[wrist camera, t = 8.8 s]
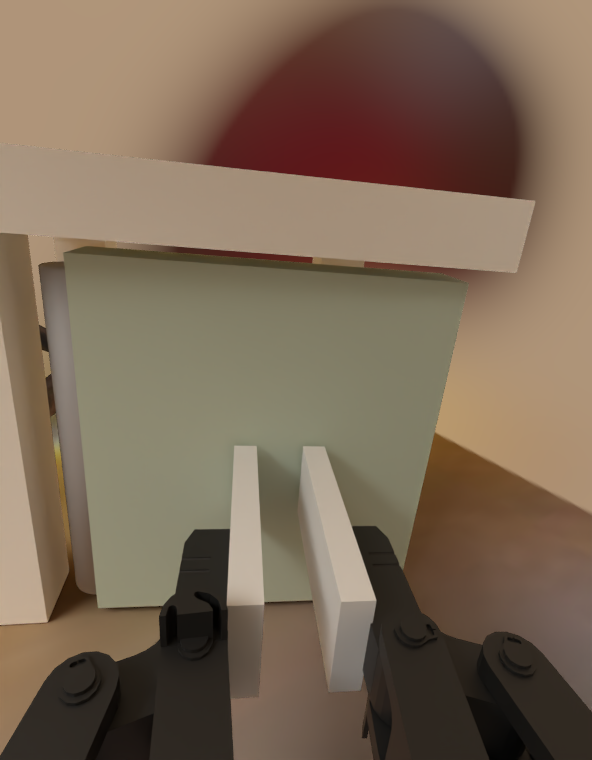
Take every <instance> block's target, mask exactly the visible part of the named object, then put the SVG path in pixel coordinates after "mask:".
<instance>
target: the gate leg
mask: <svg viewBox="0 0 592 760" xmlns="http://www.w3.org/2000/svg"><path fill="white" fill-rule="evenodd" d="M63 256H64V261H60V262H47V263H42V264H40V265H39V274H40V282H41V291H42V299H43V308H44V316H45V324H46V333H47V342H48V350H49V358H50V367H51V375H52V384H53V392H54V401H55V409H56V418H57V426H58V435H59V443H60V451H61V460H62V468H63V477H64V485H65V494H66V502H67V511H68V519H69V527H70V536H71V544H72V553H73V561H74V570H75V578H76V584H77V587H78V588H79V589H80V590H81V591H83V592H85V593H88V594H97V604H98V608H116V607H143V606H163V605H164V604H165V603H166V602H167V600H168V599H169V598H170V597H171V596H172V595H174V594H175V591H176V586H177V581H178V575H179V570H180V564H181V561H182V553H183V548H184V543H185V541H186V540H187V539H188V537H189V536H190V535H191V533H192V532H193V531H194V529H230V524H231V503H232V482H233V461H234V446H257V463H258V484H259V504H260V525H261V546H262V566H263V587H264V602H279V601H307V600H312V594H311V588H310V582H309V577H308V571H307V565H306V559H305V553H304V548H303V542H302V536H301V530H300V524H299V519H298V513H297V510H298V499H299V487H300V476H301V464H302V453H303V446H325V449H326V452H327V455H328V458H329V461H330V464H331V467H332V470H333V473H334V476H335V479H336V482H337V485H338V488H339V491H340V494H341V497H342V500H343V502H344V505H345V508H346V511H347V514H348V517H349V520H350V523H351V526H377V527H378V528H379V529H380V530H381V531H382V532H383V533H384V534H385V535H386V536H387V537H388V539H389V541H390V543H391V545H392V548H393V550H394V554H395V555H396V557H397V559H398V561H399V566H401V568H402V571H403V568H404V564H405V559H406V555H407V551H408V546H409V542H410V538H411V533H412V529H413V524H414V520H415V516H416V511H417V507H418V503H419V498H420V494H421V490H422V485H423V481H424V476H425V472H426V468H427V463H428V459H429V455H430V450H431V446H432V441H433V437H434V433H435V428H436V424H437V420H438V415H439V410H440V406H441V402H442V398H443V393H444V389H445V384H446V380H447V376H448V372H449V367H450V363H451V358H452V354H453V350H454V345H455V341H456V336H457V332H458V328H459V323H460V319H461V315H462V310H463V306H464V302H465V297H466V293H467V289H468V284H469V283H467V282H464V281H461V280H459V279H456V278H452V277H450V276H447V275H444V274H441V273H427V272H415V271H402V270H389V269H376V268H364V267H351V266H338V265H325V264H312V263H299V262H287V261H273V260H261V259H248V258H234V257H222V256H209V255H196V254H184V253H171V252H158V251H145V250H131V249H119V248H107V247H94V246H84V247H80V248H77V249H74V250H70V251H67V252H63Z"/></svg>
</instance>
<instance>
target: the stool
mask: <svg viewBox="0 0 592 760" xmlns="http://www.w3.org/2000/svg"><path fill="white" fill-rule="evenodd" d="M534 205H535V201H530V200H520V199H511V198H501V197H493V196H484V195H474V194H465V193H455V192H447V191H438V190H429V189H419V188H410V187H401V186H391V185H382V184H373V183H363V182H355V181H345V180H337V179H328V178H318V177H309V176H299V175H290V174H282V173H272V172H263V171H253V170H245V169H236V168H225V167H217V166H208V165H199V164H189V163H180V162H171V161H162V160H153V159H143V158H134V157H125V156H116V155H107V154H98V153H88V152H79V151H70V150H61V149H52V148H42V147H33V146H24V145H15V144H6V143H0V625H11V624H28V623H46V622H48V620H49V618H50V616H51V613H52V611H53V609H54V606H55V604H56V601H57V599H58V597H59V594H60V592H61V590H62V587H63V585H64V582H65V580H66V578H67V575H68V573H69V565H68V556H67V548H66V540H65V532H64V524H63V516H62V508H61V500H60V492H59V484H58V476H57V468H56V460H55V452H54V444H53V435H52V427H51V419H50V411H49V403H48V395H47V387H46V379H45V371H44V363H43V355H42V347H41V339H40V331H39V322H38V315H37V306H36V299H35V290H34V282H33V274H32V266H31V258H30V251H29V242H28V235H37V236H38V235H39V236H51V237H53V239H54V249H55V258H56V262H60V261H64V256H63V252H67V251H70V250H74V249H77V248H80V247H84V246H94V247H107V248H117V244H116V242H128V243H141V244H154V245H167V246H180V247H192V248H205V249H217V250H231V251H243V252H257V253H270V254H282V255H295V256H307V257H313V264H325V265H338V266H351V267H364V261H373V262H385V263H397V264H410V265H423V266H436V267H449V268H462V269H475V270H488V271H500V272H515V273H517V269H518V265H519V261H520V258H521V254H522V250H523V246H524V242H525V239H526V235H527V231H528V227H529V224H530V220H531V216H532V212H533V208H534Z"/></svg>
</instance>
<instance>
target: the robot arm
mask: <svg viewBox="0 0 592 760" xmlns="http://www.w3.org/2000/svg"><path fill="white" fill-rule="evenodd" d="M297 513H298V519H299V524H300V530H301V536H302V542H303V548H304V553H305V559H306V565H307V571H308V577H309V582H310V588H311V594H312V600H313V606H314V611H315V617H316V623H317V629H318V635H319V640H320V646H321V652H322V658H323V664H324V669H325V675H326V681H327V687H328V693H329V692H346V691H361V686H362V680H363V675H364V678H365V682H366V686H367V690H368V700H367V705H366V711H365V716H364V721H363V727H362V738H367V736H368V731H369V734H370V740H371V746H372V752H373V758H374V760H592V712H591V711H590V710H589V708H588V707H587V706H586V705H585V704H584V702H583V701H582V700H581V699H580V698H579V697H578V695H577V694H576V693H575V692H574V691H573V689H572V688H571V687H570V686H569V685H568V683H567V682H566V681H565V680H564V679H563V677H562V676H561V675H560V674H559V673H558V671H557V670H556V669H555V668H554V667H553V665H552V664H551V663H550V662H549V661H548V659H547V658H546V657H545V656H544V655H543V654H542V653H541V652H540V651H539V650H538V649H537V648H536V647H535V646H534V645H533V644H532V643H530V642H529V641H527V640H525V639H524V638H522V637H520V636H518V635H515V634H512V633H508V632H494V633H492V634H490V635H488V636H487V637H486V639H485V641H484V642H483V645H480V644H476V643H472V642H468V641H464V640H460V639H456V638H454V637H451V636H448V635H446V634H444V633H442V632H440V630H439V628H438V627H437V625H436V624H435V623H434V622H433V621H432V620H431V619H430V618H429V617H428V616H426V615H424V614H422V613H421V611H420V609H419V607H418V605H417V603H416V600H415V598H414V596H413V594H412V591H411V589H410V587H409V584H408V582H407V580H406V578H405V575H404V573H403V571H402V568H401V566H399V561H398V559H397V557H396V555H395V554H394V550H393V548H392V545H391V543H390V541H389V539H388V537H387V536H386V535H385V534H384V533H383V532H382V531H381V530H380V529H379V528H378V527H377V526H351V523H350V520H349V517H348V514H347V511H346V508H345V505H344V502H343V500H342V497H341V494H340V491H339V488H338V485H337V482H336V479H335V476H334V473H333V470H332V467H331V464H330V461H329V458H328V455H327V452H326V449H325V446H303V453H302V464H301V476H300V487H299V499H298V510H297ZM263 619H264V587H263V566H262V546H261V525H260V504H259V484H258V463H257V446H234V461H233V482H232V503H231V524H230V529H194V531H193V532H192V533H191V535H190V536H189V537H188V539H187V540H186V541H185V543H184V548H183V553H182V561H181V564H180V570H179V575H178V581H177V586H176V591H175V594H174V595H172V596H171V597H170V598H169V599H168V600H167V602H166V603H165V604H164V605H163V607H162V610H161V613H160V615H159V625H160V639H159V641H158V642H157V643H156V644H154V645H153V646H152V647H150V648H149V649H147V650H146V651H143V652H141V653H139V654H137V655H134V656H131V657H129V658H126V659H123V660H120V661H117V662H115V661H114V660H113V659H112V658H111V657H110V656H109V655H107V654H104V653H101V652H84V653H81V654H78V655H76V656H73V657H71V658H68V659H67V660H66V661H64V662H63V663H61V664H60V665H59V666H57V667H56V668H55V669H54V670H53V671H52V673H51V674H50V675H49V676H48V677H47V679H46V680H45V681H44V683H43V685H42V686H41V688H40V690H39V691H38V693H37V695H36V696H35V698H34V700H33V701H32V703H31V705H30V707H29V708H28V710H27V712H26V713H25V715H24V717H23V718H22V720H21V722H20V723H19V725H18V727H17V728H16V730H15V732H14V733H13V735H12V737H11V739H10V740H9V742H8V744H7V745H6V747H5V749H4V750H3V752H2V754H1V755H0V760H234V759H233V739H232V720H231V701H230V699H233V698H250V697H259V684H260V668H261V651H262V635H263Z"/></svg>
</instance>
